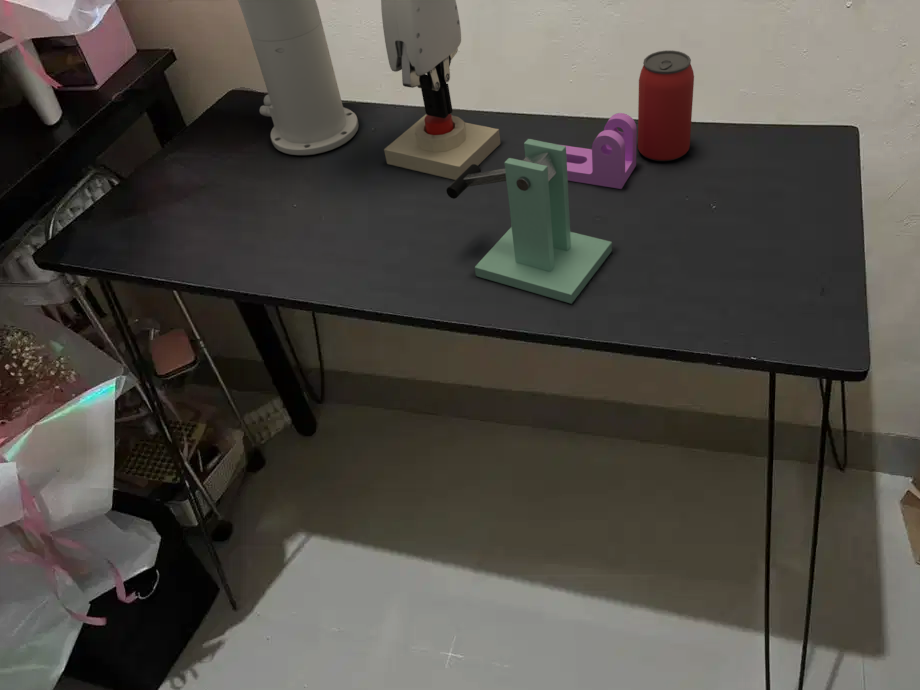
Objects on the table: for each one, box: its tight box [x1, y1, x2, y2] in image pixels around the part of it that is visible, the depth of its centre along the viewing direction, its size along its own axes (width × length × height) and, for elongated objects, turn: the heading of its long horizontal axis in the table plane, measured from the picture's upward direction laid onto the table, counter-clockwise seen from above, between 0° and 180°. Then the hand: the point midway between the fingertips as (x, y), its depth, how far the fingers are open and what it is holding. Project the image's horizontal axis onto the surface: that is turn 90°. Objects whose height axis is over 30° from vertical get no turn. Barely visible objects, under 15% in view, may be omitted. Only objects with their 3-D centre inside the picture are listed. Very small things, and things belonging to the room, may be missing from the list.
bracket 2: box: [561, 112, 638, 190], centre depth 104 cm, size 13×6×7 cm, turn 64°
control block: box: [383, 114, 501, 181], centre depth 111 cm, size 12×10×4 cm
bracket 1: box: [474, 138, 613, 305], centre depth 89 cm, size 12×10×14 cm
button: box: [424, 113, 453, 135], centre depth 110 cm, size 4×4×2 cm
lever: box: [446, 153, 556, 200], centre depth 88 cm, size 12×5×2 cm, turn 59°
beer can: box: [637, 50, 695, 162], centre depth 104 cm, size 7×7×12 cm
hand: (439, 113), depth 109 cm, fingers closed
